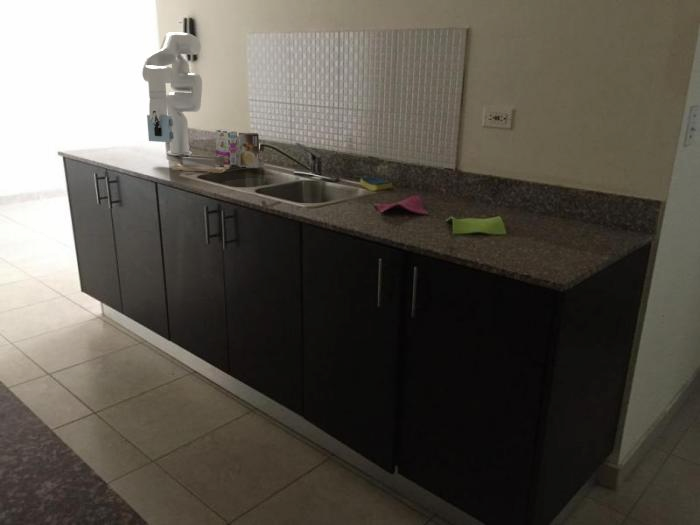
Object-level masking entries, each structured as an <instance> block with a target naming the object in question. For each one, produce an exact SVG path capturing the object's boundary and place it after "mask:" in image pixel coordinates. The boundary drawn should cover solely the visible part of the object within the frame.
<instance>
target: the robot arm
mask: <svg viewBox="0 0 700 525" xmlns="http://www.w3.org/2000/svg"><path fill="white" fill-rule="evenodd" d="M161 43H162V44H161V46H160V49H159V50H158V51H156V52H154V53H152V54H151V55H149V57H148V58H146V60H145V61H144V64H143V67H142V78H143V80H144V81H145V82H147V83H148V97H149V102H148V106H149V109H148V110H149V113H148V115H149V114H150V120H151V121H152V123H153V124H154V131H155V136H162V130H161V128H160V123H161V120H162V116H164V115H171V119H172V120H173V126H172V132H173V137H174V139H173V141H172V142H169V150H168V151H167V152H166V153H167V155H169V156H176V157H180V153H183V154H184V157H186V156H188V155H193V152H192V151H190V150H189V149H190V144H189V126H188V118H187V117H186V115H185V114H184V113H185V112H187V113H198V112H199V111H200V109H201V105H202V95H203V94H202V93H203V80H202V77H201V75H200V74H198V73H194V72H189V70H190V69H189V68H190V65H189V63H188V61H187V60H186V59H185V58H184V56H183V55H190V56H191V55H193V56H194V55H196V56H197V55H199V53H200V52H201V41H200V40H199V38H198V37H197V36H195V35H193V34H191V33H188V32H175V31H174V32H168V33H166V34H165V36H164V37H163V40H162V42H161ZM168 65H171V67H169V66H168ZM166 84H170V87H171V89H172V90H173V92H172V91H171V92H168V93H167V86H166ZM156 119H158V121H157V120H156Z"/></svg>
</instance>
